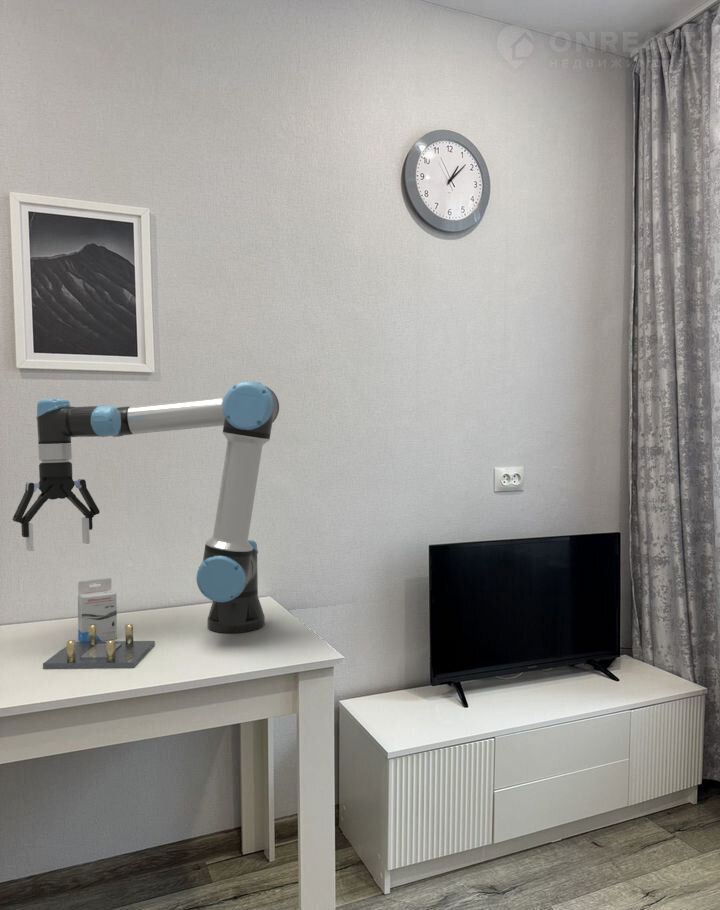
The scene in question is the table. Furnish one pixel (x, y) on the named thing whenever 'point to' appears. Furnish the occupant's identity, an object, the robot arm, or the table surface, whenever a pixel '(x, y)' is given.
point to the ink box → (97, 610)
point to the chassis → (100, 652)
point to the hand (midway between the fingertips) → (58, 546)
